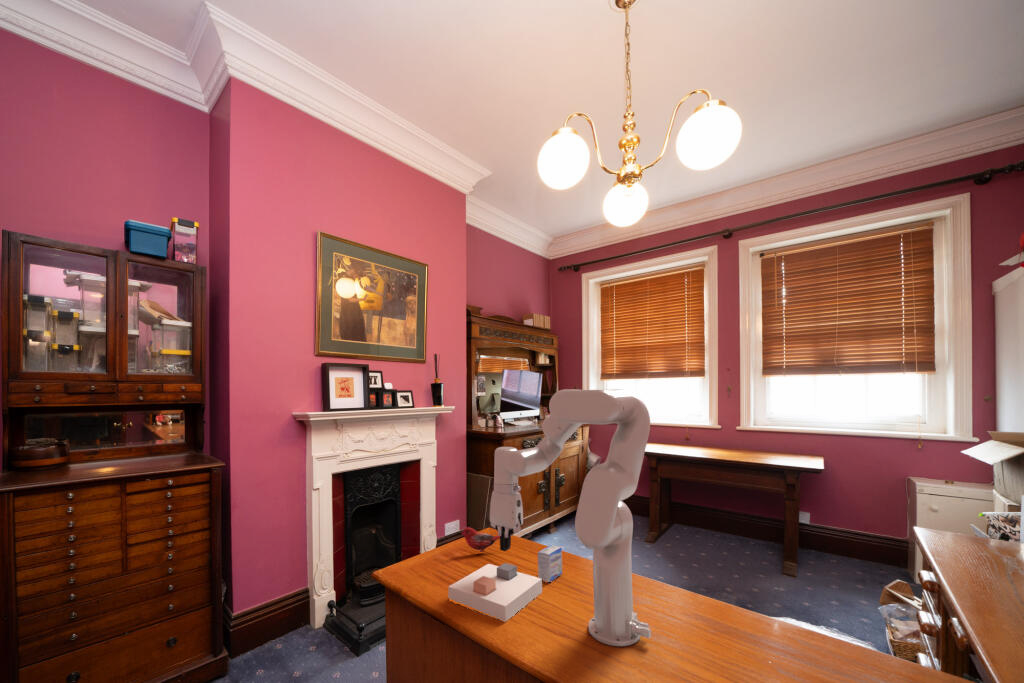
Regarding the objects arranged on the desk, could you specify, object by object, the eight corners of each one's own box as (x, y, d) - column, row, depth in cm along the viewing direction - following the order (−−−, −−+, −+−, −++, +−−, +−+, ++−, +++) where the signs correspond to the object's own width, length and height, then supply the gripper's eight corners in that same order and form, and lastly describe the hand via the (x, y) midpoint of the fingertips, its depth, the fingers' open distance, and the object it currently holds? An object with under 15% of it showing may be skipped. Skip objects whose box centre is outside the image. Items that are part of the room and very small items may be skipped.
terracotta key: (495, 590, 117) (495, 579, 117) (486, 597, 114) (486, 585, 114) (483, 586, 120) (483, 575, 120) (473, 593, 116) (473, 581, 116)
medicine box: (549, 584, 129) (549, 554, 130) (537, 580, 131) (537, 551, 132) (562, 575, 135) (562, 547, 136) (551, 571, 138) (550, 544, 139)
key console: (542, 593, 123) (542, 578, 123) (505, 622, 107) (505, 606, 108) (488, 576, 134) (488, 563, 134) (448, 601, 118) (448, 586, 119)
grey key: (516, 576, 126) (516, 566, 127) (508, 581, 123) (508, 571, 123) (505, 573, 129) (505, 562, 129) (496, 578, 125) (496, 567, 125)
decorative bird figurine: (460, 555, 152) (460, 526, 153) (506, 549, 157) (506, 521, 158) (461, 558, 149) (461, 529, 150) (508, 552, 154) (508, 524, 156)
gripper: (532, 489, 128) (532, 551, 126) (493, 482, 136) (492, 540, 134) (519, 494, 122) (518, 559, 120) (479, 486, 130) (478, 547, 128)
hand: (505, 549), depth 127 cm, fingers closed
